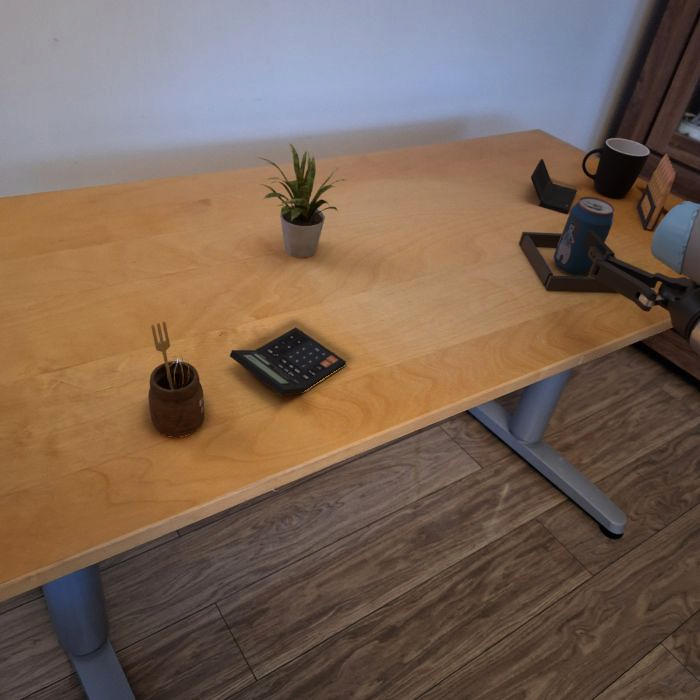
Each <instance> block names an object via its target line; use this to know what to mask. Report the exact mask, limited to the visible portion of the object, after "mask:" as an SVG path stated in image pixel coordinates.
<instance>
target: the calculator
mask: <svg viewBox="0 0 700 700" xmlns="http://www.w3.org/2000/svg"><path fill="white" fill-rule="evenodd" d="M229 357H230V358H231V359H232V360H234V361H235V362H236V363H238V364H239V365H241V366H242V367H243V368H244V369H246V370H247V371H248V372H249V373H250V374H252V375H253V376H254V377H256V378H257V379H258V380H260V381H261V382H262V383H263V384H265V385H266V386H268V387H269V388H270V389H272V390H273V391H274V392H276V394H278V395H279V396H281V397H283V396H292V395H297V394H303V393H302V392H304V391H305V390H307V389H308V388H310V387H311V386H313V385H314V384H316V383H317V382H319V381H320V380H322V379H323V378H325V377H326V376H328V375H330V374H331V373H333V372H334V371H336V370H338V369H339V368H341V367H343V366H344V365H345V366H346V365H347V364H346V363H347V361H346V360H345V359H343V358H342V357H340V356H339V355H337V354H335V353H334V352H333V351H331V350H330V349H329V348H327V347H326V346H324V345H323V344H321V343H320V342H318V341H317V340H316V339H314V338H313V337H311V336H309V335H308V334H307V333H305V332H304V331H302V330H301V329H300V328H298V327H293V328H292V329H290V330H288V331H286V332H284V333H282V334H281V335H279V336H278V337H276V338H274V339H272V340H270V341H268V342H266V343H265V344H264V345H261V346H260V347H257V348H256V349H240V350H239V349H232V350H231V352H230V354H229ZM343 368H344V367H343Z"/></svg>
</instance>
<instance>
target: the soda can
mask: <svg viewBox="0 0 700 700" xmlns="http://www.w3.org/2000/svg"><path fill="white" fill-rule="evenodd" d="M614 213H615V207H614V205H612V204H611V202H609V201H607V200H605V199H602V198H599V197H595V196H582V197H580V198H579V199H578V201H577V202H576V203H575V204H574V205H573V206H571V208H570V211H569V213H568V214H569V215H568V216H567V219H566V222H565V224H564V227H563V230H562V231H561V232H562V233H561V234H562V235H561V238H560V240H559V243H558V246H557V247H555V250H554V253H553V260H554V265H555V268H557V270H559V271H560V272H561V273H563V274H566V275H567V276H585V275H587V274H589V272H590V270H591V267H592V265H593V263H594V262H593V261H592V260H591V258H589V257H588V253H587V252H586V251H585V250H584V249H583V247H582V246H581V245H582V243H583V241H584V238H585V236H586V233H587V231H588V230H593V231H594V232H595V233H596V234H597V235H598V236H599V238H600V239H601V240H602V241H603V242H604V243H605V244H606V241H607V238H608V235H609V234H610V231H611V229H612V227H613V224H614V221H615V215H614Z"/></svg>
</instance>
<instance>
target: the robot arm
mask: <svg viewBox="0 0 700 700" xmlns="http://www.w3.org/2000/svg"><path fill="white" fill-rule="evenodd" d="M650 245H651V246H650V253H651V255H652V256H653V258H655V259H656V260H657V261H659V262H660V263H662V264H663V265H665V266H666V267H668V268H669V269H671V270H672V271H673V272H675V273H676V274H678V275H679V276H680V277H671V276H668V275H665V274H663V273H661V272H656V273H651V272H649V271H647V270H644V269H642V268H639V267H638V266H635V265H633V264H630V263H628V262H626V261H623V260H622V259H619V258H617V257H616V258H617V259H616V258H614V256H615V255H616V253H615V252H614V251H613V250H612V249H611V248H610V247H609V245H607V244H606V242H605V243H604V242H603V241H602V240H601V239H600V238H599V236H598V235H597V234H596V233H595V232H594V231H593V230H588V231H587V233H586V236H585V238H584V241H583V243H582V245H581V246H582V247H583V249H584V250H585V251H586V252H587V253H588V257H589V258H591V260H592V261H593V262H594V263H593V265H592V267H591V270H590V272H589V273H588V275H589V277H593V278H595V279H596V280H598V281H600V282H601V283H603V284H605V285H606V286H608V287H610V288H611V289H613V290H615V291H616V292H615V293H617V294H620V295H621V296H622V297H625V298H626V299H628V300H629V301H631V302H633V303H634V305H636V306H637V307H638V308H639V309H640V310H641V311H643V312H646V313H648V312H650V311H651V310H652V308H653V307H656V306H659V307H661V308H662V309H664V310H666V311H667V312H668V313H669V317H670V324H671V325H672V328H673V329H674V330H675V331H676V332H677V334H679V336H681V338H682V339H683V340H684V341H685V342H686V343H687V344H689V345H690V348H691V349H692V350H693V351H694V352H695V353H696V354H697V355H698V356H699V357H700V203H695V202H693V201H689V200H685V201H682V202H680V203H679V204H677V205H674V206H673V207H672V208H671V209H670V210H669V211H668V212H667V213H666V214H665V215H664V216H663V218H662V219H661V221H660V222H659V224H658V225H657V226H656V228H655V230H654V233H653V234H652V238H651V242H650ZM659 282H660V283H661V284H660V285H659V287H658V288H657V292H656V286H657V284H658V283H659Z"/></svg>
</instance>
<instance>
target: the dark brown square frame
mask: <svg viewBox="0 0 700 700" xmlns="http://www.w3.org/2000/svg"><path fill="white" fill-rule="evenodd" d="M561 235H562V233H559V232H540V231H539V232H535V231H522V233H521V235H520V238H519V240H518V245H519V246H520V249H521V250H522V252H523V253H524V255H525V257H526V259H527V261H528V262H529V264H530V266H531V267H532V269H533V271H534V272H535V274H536V275H537V277H538V280H539V281H540V282H541V284H542V285H543V287H544V288H545V290H546V291H549V292H550V291H551V292H553V291H555V292H587V293H589V292H590V293H617V292H616V291H615V290H613V289H611V288H610V287H608V286H606V285H605V284H603V283H601V282H600V281H598V280H596V279H595V278H593V277H591V276H585V275H584V276H571V275H554V273H553V271H552V269H551V268H550V267H549V265H548V263H547V261H546V260H545V259H544V257H543V255H542V254H541V252H540V251H539V249H538V248H557V246H558V243H559V240H560V238H561ZM614 258H616V259H618V258H617V257H616V256H615V255H614Z"/></svg>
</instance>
